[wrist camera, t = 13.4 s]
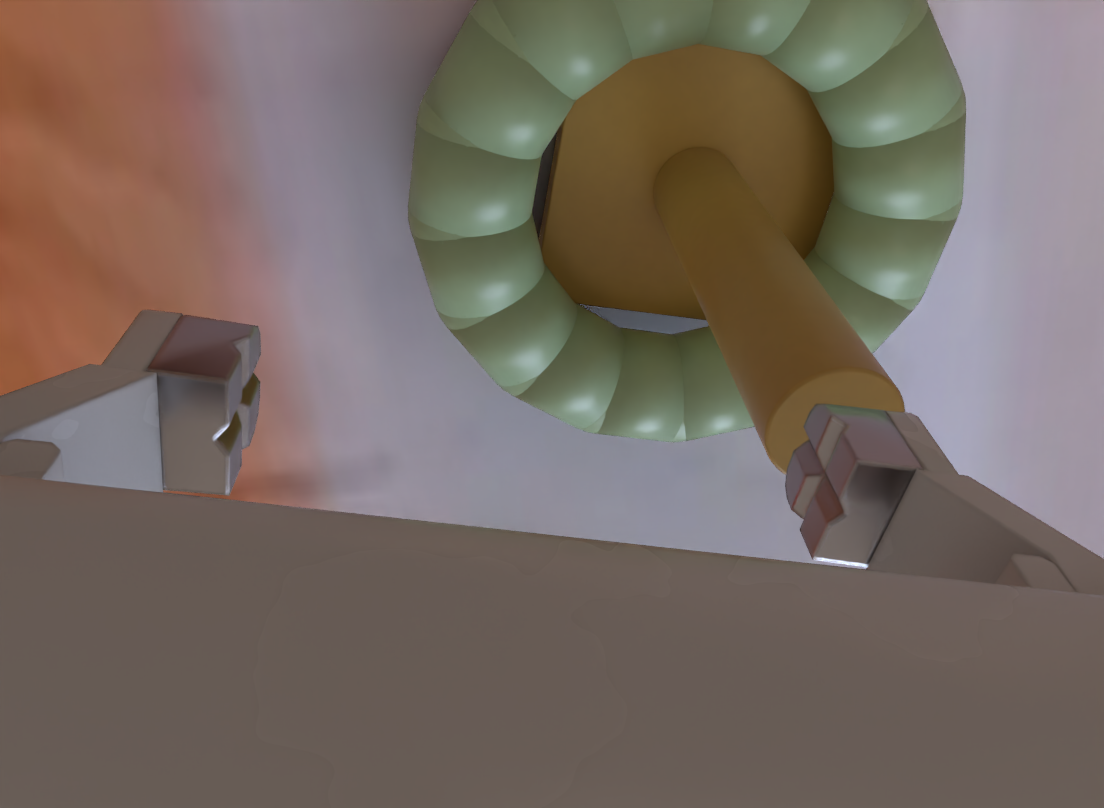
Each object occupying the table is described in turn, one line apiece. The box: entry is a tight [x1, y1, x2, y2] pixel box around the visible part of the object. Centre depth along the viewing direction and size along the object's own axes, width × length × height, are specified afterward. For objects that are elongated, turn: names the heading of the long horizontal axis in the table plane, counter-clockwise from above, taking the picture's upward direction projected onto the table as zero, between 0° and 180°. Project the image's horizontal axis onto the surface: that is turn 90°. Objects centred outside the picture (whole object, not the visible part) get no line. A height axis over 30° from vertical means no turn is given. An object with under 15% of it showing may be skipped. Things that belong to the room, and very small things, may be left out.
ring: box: [408, 0, 966, 442], centre depth 24 cm, size 14×14×3 cm
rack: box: [539, 44, 905, 475], centre depth 21 cm, size 8×8×13 cm
